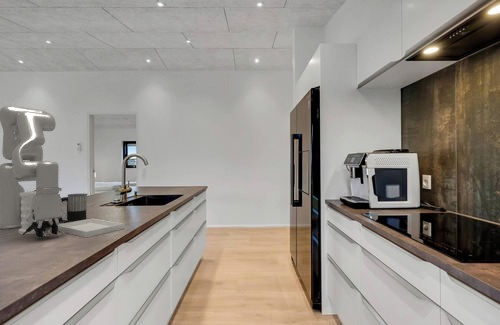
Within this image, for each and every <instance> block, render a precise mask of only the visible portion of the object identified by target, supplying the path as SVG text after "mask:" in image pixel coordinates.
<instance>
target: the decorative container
mask: <svg viewBox="0 0 500 325" xmlns="http://www.w3.org/2000/svg"><path fill="white" fill-rule="evenodd" d="M35 195H36V190H34V191H33V190H32V191H25V192H21V193H20V196H22V200H21V204H22V207H21V211H22V214H21V218H22V221H21V225H22V227H20V229H18V234H20V235H22V234H23V233H24V232H26V230H27V229H28V228H29V226H31V225H32V224H30V223H28V222H26V220H27V219H28V217H29V216H30V213H31V204H32V199H33V196H35ZM32 221H34V222H36V220H34V219H32ZM45 221H49V219H47V220H45ZM50 230H51V228H50V229H49V231H50ZM30 234H31V235H32V234H33V235H34V234H36V232H35V230H34V229H33V230H32V231H30V232H27V233H26V234H25V235H30Z"/></svg>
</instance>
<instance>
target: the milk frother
mask: <svg viewBox="0 0 500 325" xmlns="http://www.w3.org/2000/svg"><path fill="white" fill-rule="evenodd" d="M87 196H88V193H70V194H69V193H68V194H67V196H64V197H61V201H62V203H63V202H66V215H67V216H66V219H62V221H61V222H60V223H61V224H64V223H69V222H75V221H81V220H87Z"/></svg>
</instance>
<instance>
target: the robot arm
mask: <svg viewBox="0 0 500 325" xmlns="http://www.w3.org/2000/svg"><path fill="white" fill-rule="evenodd" d="M0 124H1V128H2V133H3V136H2V153H1V154H2V157H3V158H4V159H5V160H8V161H11V162H5V163H2V164H1V163H0V230H5V229H6V230H7V229H15V228H16V229H17V228H22V225H21V221H22V218H21V214H22V211H21V207H22V204H21V200H22V196H20V193H21V192H26V191H25V189H24V187H23V186H22V185H21V182H34V181H35V191H36V195H35V196H33V199H32V204H31V213H30V216H29V217H28V219H27V220H26V222H28V223H30V224H32V225H33V226H35V227H36V233H35V236H36V237H37V238H39V239H41V238H43V237H44V235H43V228H41V225H42V222H43V220H47V219H48V220H51V221H52V223H51V228H50V230H51V231H50V233H51V235H54V236H56V235H58V232H59V231H58V225H59V224H61V223H62V222H61V221H62V220H64V219H65V218H67V213H66V212H64V210H63V202H62V201H61V198H62V197H61V194H59V193H60V192H62V191H63V188H62V187H59V164H58V162H56V161H47V160H43V159H44V150H43V145H44V144H45V143H46V139H45V135H44V132H53V131H54V130H55V129H56V118H55V116H53V115H52V114H51V113H50V112H49V113H48V111H45V110H43V109H37V108H29V107H22V106H14V105H7V106H6V105H5V106H2V107H1V108H0ZM32 219H34V220H36V222H34V221H32Z"/></svg>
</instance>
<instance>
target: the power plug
mask: <svg viewBox="0 0 500 325" xmlns="http://www.w3.org/2000/svg"><path fill="white" fill-rule="evenodd" d="M51 225H52V223H50V221H49V220H48V221H45V220H43V222H42V225H41V228H43V237H47V235H46V232H47V234H48V235H49V236H51V235H52V234H51V231H50V230H51ZM33 229H34V230H35V232H36V227H35V226H33V225H31V226H29V228H28V229H27V230H26V232H24V233H23V234H21V235H22V236H24V235H27V234H26V233H27V232H30V231H32V230H33ZM49 229H50V230H49Z"/></svg>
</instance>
